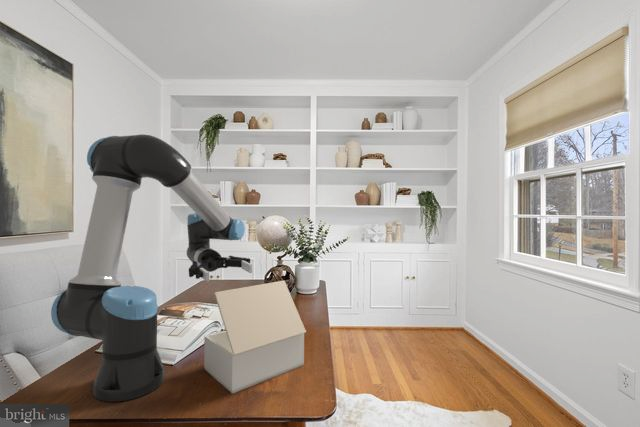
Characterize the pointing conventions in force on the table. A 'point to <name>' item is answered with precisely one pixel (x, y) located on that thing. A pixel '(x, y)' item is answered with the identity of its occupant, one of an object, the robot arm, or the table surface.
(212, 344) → the mailer box
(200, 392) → the table surface
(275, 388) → the table surface
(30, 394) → the table surface
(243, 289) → the lid flap
